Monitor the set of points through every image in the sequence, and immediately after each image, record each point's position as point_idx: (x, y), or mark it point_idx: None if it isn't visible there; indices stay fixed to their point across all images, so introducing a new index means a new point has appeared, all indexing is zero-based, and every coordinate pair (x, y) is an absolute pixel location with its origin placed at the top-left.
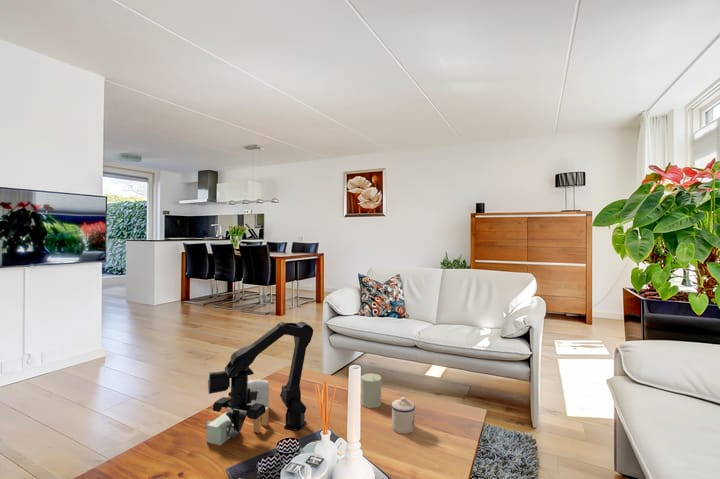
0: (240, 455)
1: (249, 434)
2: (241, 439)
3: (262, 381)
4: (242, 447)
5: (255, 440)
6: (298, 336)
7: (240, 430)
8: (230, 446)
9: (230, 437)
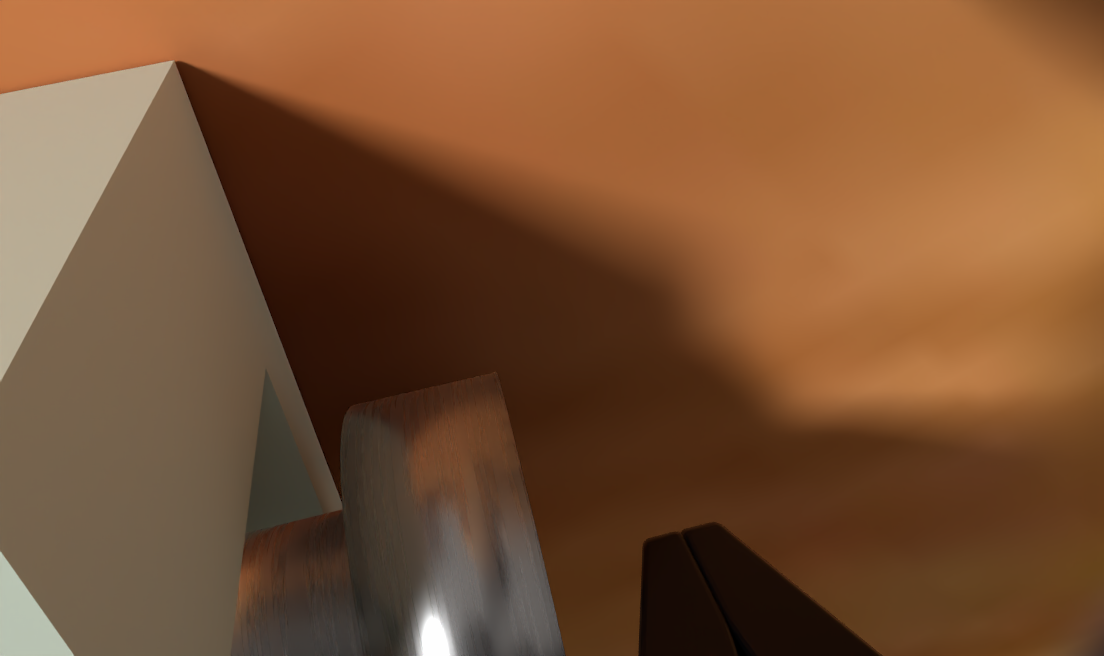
0: (985, 613)
1: (690, 30)
2: (653, 329)
3: None
4: (884, 485)
5: (1036, 161)
6: None
7: (724, 536)
8: (625, 592)
9: (316, 438)
